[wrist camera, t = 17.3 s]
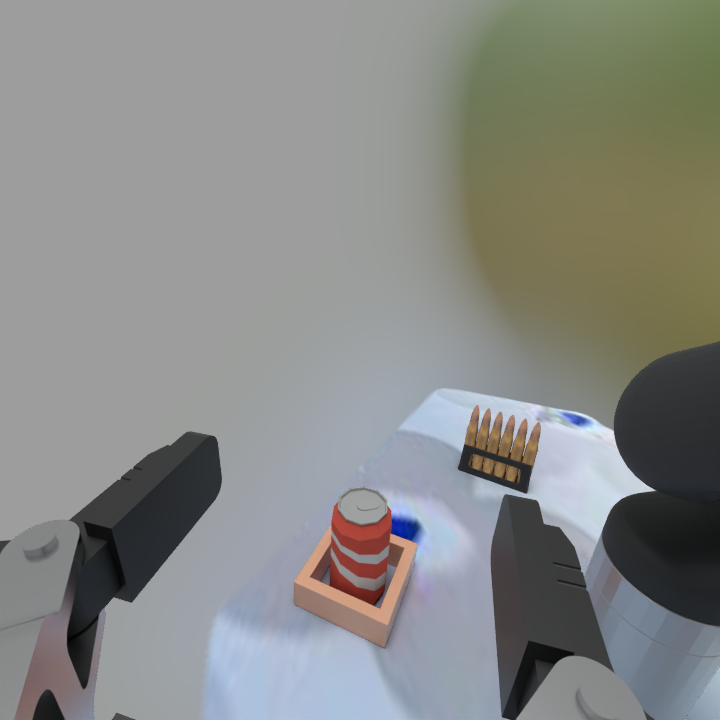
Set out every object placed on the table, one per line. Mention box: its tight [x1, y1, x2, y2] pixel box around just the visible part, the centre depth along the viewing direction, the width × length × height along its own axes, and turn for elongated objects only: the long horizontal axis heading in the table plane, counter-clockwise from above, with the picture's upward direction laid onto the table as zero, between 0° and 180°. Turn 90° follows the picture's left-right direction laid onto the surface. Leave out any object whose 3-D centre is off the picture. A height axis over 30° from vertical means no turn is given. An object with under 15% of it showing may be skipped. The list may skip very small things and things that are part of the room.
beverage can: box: [330, 486, 391, 605], centre depth 43 cm, size 6×6×12 cm
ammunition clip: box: [458, 405, 541, 493], centre depth 61 cm, size 11×2×12 cm, turn 62°
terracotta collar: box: [294, 524, 417, 648], centre depth 44 cm, size 10×10×4 cm
